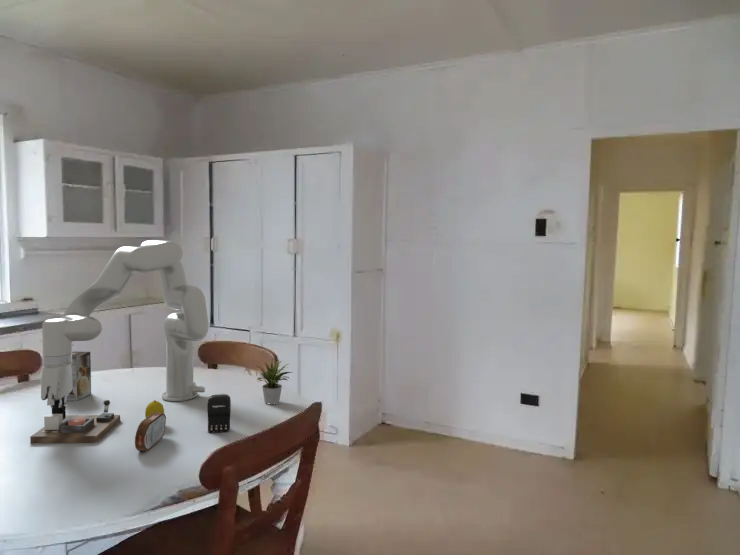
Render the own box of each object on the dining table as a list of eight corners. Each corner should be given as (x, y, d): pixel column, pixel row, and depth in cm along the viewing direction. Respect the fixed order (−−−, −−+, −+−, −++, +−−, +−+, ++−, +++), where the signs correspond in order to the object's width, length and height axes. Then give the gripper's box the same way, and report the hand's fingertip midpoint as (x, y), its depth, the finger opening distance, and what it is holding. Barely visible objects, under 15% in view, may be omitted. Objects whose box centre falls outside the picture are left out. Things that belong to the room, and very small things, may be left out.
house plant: (261, 412, 180) (262, 366, 179) (242, 402, 190) (243, 358, 189) (296, 404, 189) (297, 360, 188) (276, 395, 200) (277, 353, 198)
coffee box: (75, 393, 196) (74, 350, 195) (91, 393, 196) (91, 351, 195) (60, 400, 187) (59, 356, 186) (77, 401, 187) (76, 356, 186)
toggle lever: (109, 412, 165) (111, 399, 166) (107, 412, 163) (109, 399, 164) (103, 412, 165) (105, 400, 166) (101, 412, 163) (103, 399, 164)
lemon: (167, 423, 167) (167, 399, 167) (155, 429, 162) (155, 404, 162) (153, 421, 169) (153, 396, 169) (141, 426, 164) (141, 401, 163)
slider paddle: (62, 426, 156) (62, 413, 156) (58, 429, 154) (58, 416, 154) (48, 426, 156) (48, 413, 156) (44, 429, 153) (44, 416, 153)
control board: (120, 420, 168) (120, 408, 168) (96, 442, 151) (96, 429, 150) (61, 421, 167) (61, 409, 166) (30, 443, 149) (30, 429, 149)
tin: (157, 435, 158) (157, 407, 157) (168, 435, 158) (167, 408, 157) (133, 455, 143) (133, 425, 142) (145, 456, 143) (144, 425, 142)
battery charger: (206, 434, 159) (206, 397, 158) (207, 429, 163) (207, 393, 162) (230, 433, 161) (230, 396, 160) (230, 428, 164) (231, 393, 163)
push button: (88, 424, 158) (88, 418, 158) (81, 430, 154) (81, 423, 153) (72, 424, 158) (72, 418, 158) (65, 430, 153) (64, 423, 153)
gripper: (57, 354, 164) (58, 411, 165) (30, 366, 149) (32, 428, 150) (82, 354, 164) (82, 411, 166) (58, 366, 150) (59, 428, 151)
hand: (58, 419), depth 158 cm, fingers closed
